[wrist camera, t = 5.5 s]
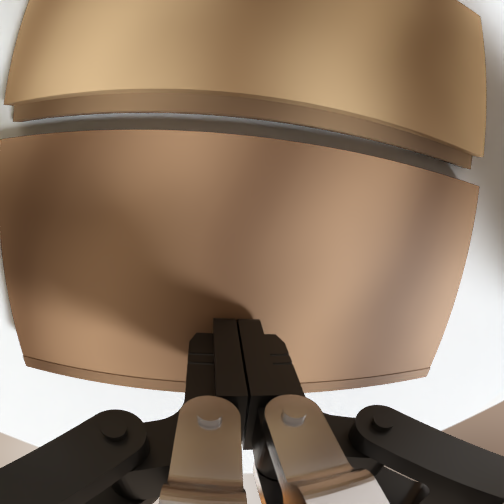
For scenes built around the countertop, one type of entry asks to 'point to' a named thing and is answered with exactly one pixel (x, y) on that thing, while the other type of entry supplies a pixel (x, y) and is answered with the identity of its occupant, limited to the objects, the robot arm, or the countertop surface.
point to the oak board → (263, 65)
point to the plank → (226, 254)
